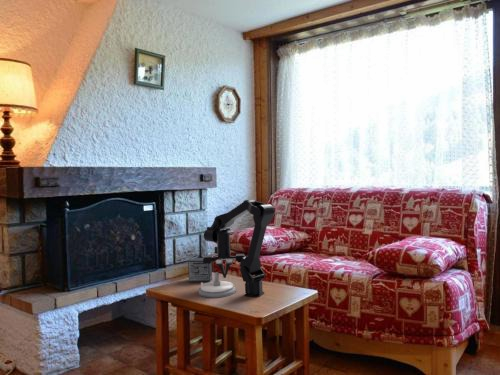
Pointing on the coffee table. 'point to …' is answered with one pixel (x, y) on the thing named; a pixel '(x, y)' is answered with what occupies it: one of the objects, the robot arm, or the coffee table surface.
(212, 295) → the base plate
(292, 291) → the coffee table surface
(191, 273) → the small box
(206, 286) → the dial
